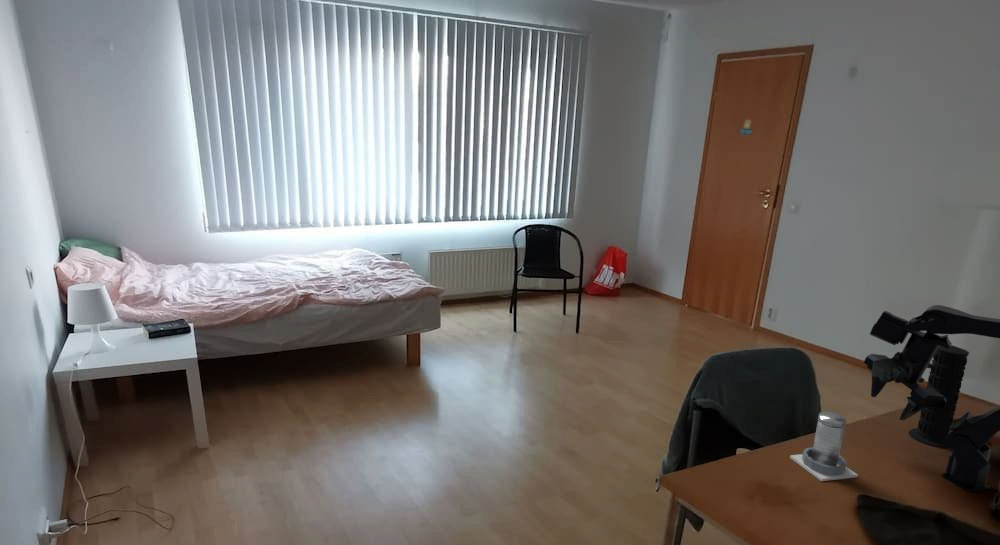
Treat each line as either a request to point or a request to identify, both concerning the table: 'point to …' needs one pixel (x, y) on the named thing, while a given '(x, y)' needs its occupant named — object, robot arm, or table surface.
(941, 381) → the handle grip
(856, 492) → the table surface
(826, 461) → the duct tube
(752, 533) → the table surface
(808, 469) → the flange collar
